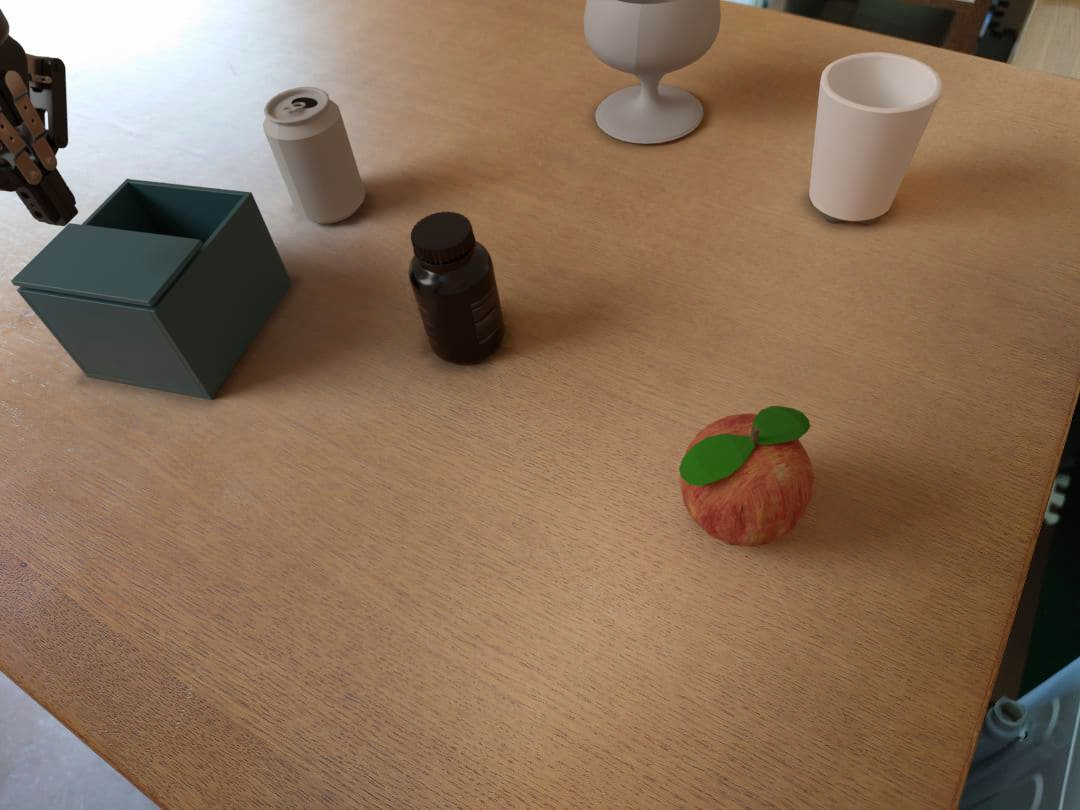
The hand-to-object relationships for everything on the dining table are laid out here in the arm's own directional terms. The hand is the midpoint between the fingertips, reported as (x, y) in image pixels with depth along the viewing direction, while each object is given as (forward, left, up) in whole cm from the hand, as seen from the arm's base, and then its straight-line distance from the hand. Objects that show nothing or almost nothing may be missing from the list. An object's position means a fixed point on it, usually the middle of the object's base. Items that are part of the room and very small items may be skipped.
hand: (62, 218), depth 57 cm
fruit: (+31, -41, -16) cm, 54 cm away
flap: (+1, +1, -5) cm, 5 cm away
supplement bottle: (+24, -14, -16) cm, 32 cm away
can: (+22, +12, -16) cm, 30 cm away
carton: (+4, +3, -16) cm, 17 cm away
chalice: (+58, +4, -16) cm, 60 cm away
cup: (+63, -21, -16) cm, 68 cm away
